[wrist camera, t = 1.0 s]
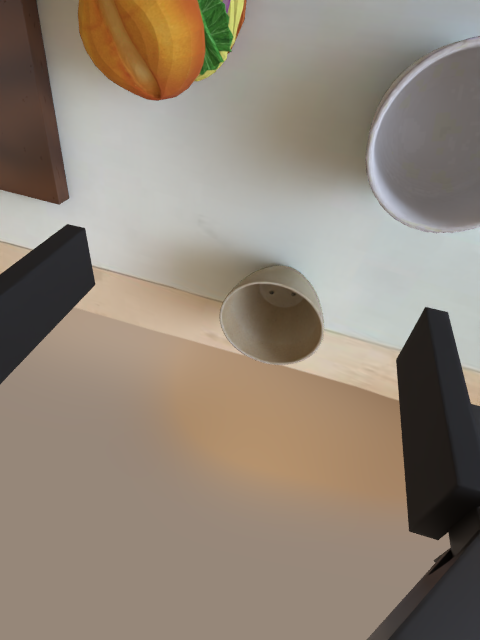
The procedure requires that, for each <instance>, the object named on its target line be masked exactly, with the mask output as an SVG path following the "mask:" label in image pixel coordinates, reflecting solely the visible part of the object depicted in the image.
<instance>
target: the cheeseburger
mask: <svg viewBox="0 0 480 640" xmlns="http://www.w3.org/2000/svg"><path fill="white" fill-rule="evenodd" d="M245 10H246V0H79V7H78V20H79V33H80V36H81V38H82V41H83V44H84V47H85V49H86V51H87V53H88V54H89V56H90V58H91V59H92V61H93V63H94V64H95V66H96V67H97V68H98V69H99V70H100V71H101V72H102V73H103V74H104V75H105V76H106V77H107V78H108V79H110V80H111V81H113V82H114V83H116V84H117V85H119V86H121V87H122V88H124V89H126V90H128V91H130V92H132V93H134V94H136V95H138V96H140V97H143V98H145V99H149V100H163V99H168V98H173V97H176V96H178V95H179V94H181V93H182V92H183V91H185V90H186V89H188V88H189V86H190V85H191V84H192V83H193V81H200V80H203V79H205V78H207V77H209V76H210V75H212V74H213V73H215V72H216V70H217V69H218V68H219V67H220V66H221V65H222V64H223V63H224V61H225V60H226V59H227V54H228V53H229V52H232V50H231V49H232V47H233V45H234V43H235V40H236V38H237V36H238V33H239V31H240V29H241V26H242V24H243V22H244V19H245Z"/></svg>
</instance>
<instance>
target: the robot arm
mask: <svg viewBox="0 0 480 640" xmlns="http://www.w3.org/2000/svg"><path fill="white" fill-rule="evenodd" d="M94 285H95V280H94V275H93V269H92V264H91V258H90V253H89V248H88V242H87V237H86V231H85V228H82V227H77V226H73V225H69V224H67V225H66V226H64V227H63V228H62V229H60V230H59V231H58V232H56V233H55V234H54V235H52V236H51V237H50V238H48V239H47V240H46V241H44V242H43V243H42V244H40V245H39V246H38V247H36V248H35V249H34V250H32V251H31V252H30V253H28V254H27V255H26V256H24V257H23V258H22V259H20V260H19V261H18V262H16V263H15V264H14V265H12V266H11V267H10V268H8V269H7V270H6V271H4V272H3V273H2V274H0V384H1V383H2V382H3V381H4V380H5V379H6V378H7V377H8V375H9V374H10V373H11V372H12V371H13V370H14V369H15V368H16V367H17V366H18V365H19V364H20V363H21V362H22V361H23V360H24V359H25V358H26V357H27V356H28V355H29V353H30V352H31V351H32V350H33V349H34V348H35V347H36V346H37V345H38V344H39V343H40V342H41V341H42V340H43V339H44V338H45V337H46V336H47V334H48V333H50V331H51V330H52V329H53V328H54V327H55V326H56V325H57V324H58V323H59V322H60V321H61V320H62V319H63V318H64V317H65V316H66V315H67V314H68V313H69V312H70V311H71V310H72V308H73V307H74V306H75V305H76V304H77V303H78V302H79V301H80V300H81V299H82V298H83V297H84V296H85V295H86V294H87V293H88V292H89V291H90V290H91V289H92V288H93V286H94ZM396 363H397V376H398V389H399V402H400V415H401V428H402V442H403V456H404V468H405V482H406V494H407V508H408V522H409V531H410V532H413V533H416V534H420V535H423V536H426V537H430V538H433V539H436V540H439V539H440V538H441V537H443V536H444V535H445V534H446V533H447V532H449V538H450V545H451V548H450V549H448V550H447V551H446V552H444V553H443V554H442V555H440V556H439V557H438V558H436V559H435V560H434V562H435V564H434V565H433V566H432V568H431V569H430V570H429V571H428V572H427V573H426V574H425V575H424V577H423V578H422V579H421V580H420V581H419V582H418V583H417V584H416V585H415V587H414V588H413V589H412V590H411V591H410V592H409V593H408V594H407V595H406V597H405V598H404V599H403V600H402V601H401V602H400V603H399V604H398V605H397V607H396V608H395V609H394V610H393V611H392V612H391V613H390V614H389V615H388V617H387V618H386V619H385V620H384V621H383V622H382V623H381V624H380V625H379V627H378V628H377V629H376V630H375V631H374V632H373V633H372V634H371V635H370V637H369V638H368V639H367V640H480V406H477V405H473V404H471V403H470V399H469V395H468V391H467V387H466V383H465V379H464V375H463V371H462V367H461V363H460V359H459V355H458V351H457V347H456V343H455V339H454V335H453V331H452V327H451V323H450V319H449V315H448V312H445V311H440V310H436V309H432V308H427V307H425V309H424V311H423V312H422V314H421V316H420V318H419V320H418V321H417V323H416V325H415V327H414V329H413V330H412V332H411V334H410V336H409V338H408V340H407V341H406V343H405V345H404V347H403V349H402V350H401V352H400V354H399V356H398V358H397V360H396Z"/></svg>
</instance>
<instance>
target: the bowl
mask: <svg viewBox="0 0 480 640" xmlns="http://www.w3.org/2000/svg"><path fill="white" fill-rule="evenodd" d="M272 292H274V293H273V294H271V293H272ZM294 293H295V294H294ZM220 324H221V328H222V330H223V332H224V334H225V336H226V338H227V339H228V340H229V342H230V343H231V344H232V345H233V346H234V347H235V348H236V349H237V350H239V351H240V352H241V353H243V354H244V355H246V356H248V357H250V358H252V359H254V360H257V361H260V362H263V363H267V364H274V365H286V364H293V363H297V362H300V361H303V360H305V359H306V358H308V357H310V356H311V355H312V354H313V353H314V352H315V351H316V350H317V349H318V348H319V346H320V344H321V342H322V340H323V336H324V319H323V313H322V308H321V304H320V301H319V299H318V296H317V294H316V292H315V290H314V288H313V287H312V285H311V284H310V282H309V281H308V280H307V279H306V278H305V277H304V276H303V275H302V274H301V273H300V272H298V271H297V270H295V269H293V268H290V267H287V266H271V267H267V268H263V269H261V270H258V271H256V272H254V273H252V274H250V275H249V276H247V277H246V278H245V279H243V280H242V281H241V282H240V283H239V284H237V285H236V286H235V287H234V288H233V289H232V291H231V292H230V293H229V294H228V296H227V297H226V298H225V300H224V302H223V304H222V306H221V309H220Z"/></svg>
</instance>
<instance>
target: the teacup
mask: <svg viewBox="0 0 480 640" xmlns="http://www.w3.org/2000/svg"><path fill="white" fill-rule="evenodd" d="M366 172H367V176H368V181H369V183H370V186H371V189H372V191H373V193H374V195H375V197H376V198H377V200H378V201H379V203H380V205H381V206H382V207H383V208H384V209H385V211H387V212H388V213H389V214H390V215H391V216H392V217H393V218H395V219H396V220H398V221H400V222H401V223H403V224H404V225H407V226H409V227H411V228H415V229H418V230H421V231H425V232H433V233H439V232H442V233H445V232H449V233H453V232H460V231H466V230H470V229H474V228H477V227H480V36H478V37H472V38H469V39H466V40H462V41H459V42H455V43H452V44H449V45H446V46H443V47H440V48H438V49H436V50H434V51H432V52H430V53H428V54H426V55H424V56H423V57H421V58H420V59H418V60H417V61H415V62H414V63H413V64H412V65H410V66H409V67H408V68H407V69H406V70H404V71H403V72H402V73H401V74H400V75H399V76H398V77H397V79H396V80H395V81H394V82H393V83H392V85H391V86H390V87H389V89H388V90H387V91H386V93H385V95H384V96H383V98H382V100H381V101H380V103H379V106H378V108H377V110H376V112H375V115H374V117H373V121H372V124H371V128H370V133H369V137H368V142H367V148H366Z"/></svg>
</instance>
